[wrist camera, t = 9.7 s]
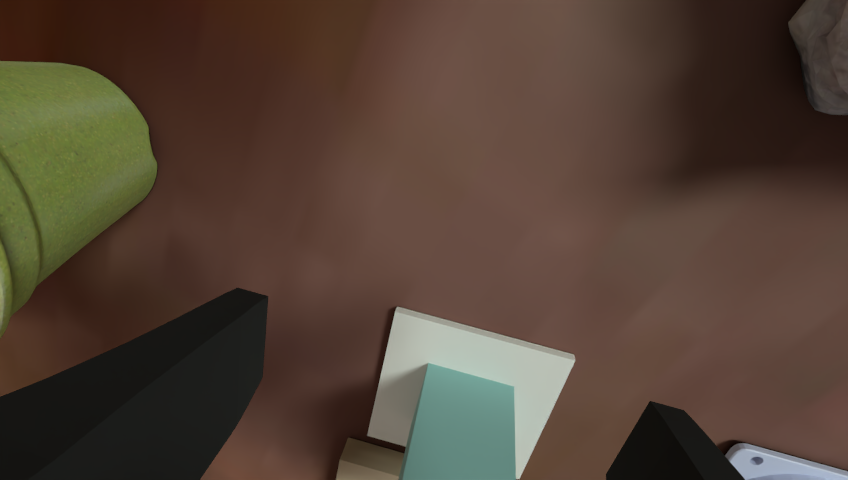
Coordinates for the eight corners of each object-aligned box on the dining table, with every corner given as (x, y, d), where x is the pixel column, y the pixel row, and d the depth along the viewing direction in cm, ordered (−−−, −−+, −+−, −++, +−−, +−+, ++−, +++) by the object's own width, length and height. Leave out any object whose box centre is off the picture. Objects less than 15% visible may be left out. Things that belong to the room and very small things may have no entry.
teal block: (514, 386, 21) (517, 541, 15) (490, 445, 23) (483, 605, 17) (428, 363, 22) (396, 506, 15) (411, 423, 23) (376, 573, 17)
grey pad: (574, 354, 21) (575, 360, 20) (519, 472, 24) (519, 479, 24) (396, 306, 21) (395, 311, 21) (368, 429, 25) (367, 435, 24)
